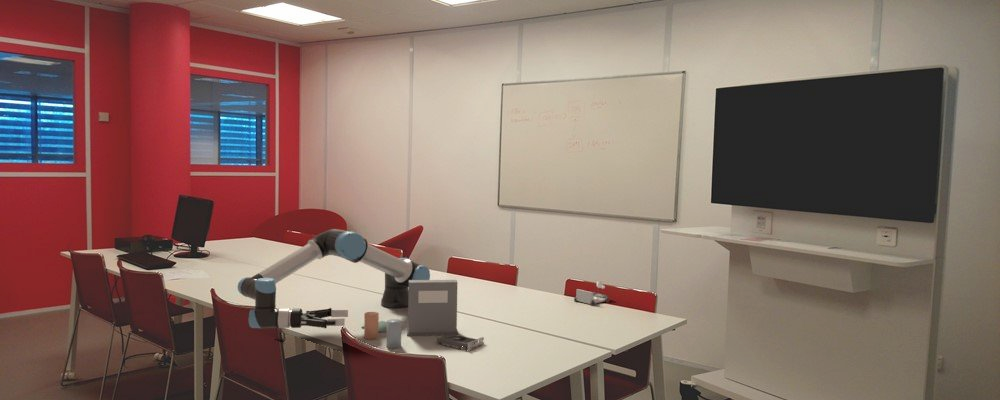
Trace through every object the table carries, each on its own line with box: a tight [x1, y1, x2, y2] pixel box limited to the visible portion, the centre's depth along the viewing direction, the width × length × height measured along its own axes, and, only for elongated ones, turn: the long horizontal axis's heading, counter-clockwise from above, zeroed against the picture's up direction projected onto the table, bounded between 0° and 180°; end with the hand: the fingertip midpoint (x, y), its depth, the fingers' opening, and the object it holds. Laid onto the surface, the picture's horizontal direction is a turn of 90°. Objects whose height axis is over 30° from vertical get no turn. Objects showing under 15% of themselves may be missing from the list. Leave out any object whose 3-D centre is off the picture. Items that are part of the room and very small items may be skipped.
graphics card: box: [436, 334, 485, 352], centre depth 240 cm, size 17×4×12 cm
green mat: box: [361, 320, 403, 334], centre depth 261 cm, size 12×12×1 cm
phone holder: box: [573, 281, 610, 307], centre depth 319 cm, size 18×10×12 cm
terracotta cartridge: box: [363, 311, 380, 341], centre depth 246 cm, size 6×6×10 cm
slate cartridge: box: [385, 318, 402, 350], centre depth 235 cm, size 6×6×10 cm
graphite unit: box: [406, 279, 459, 337], centre depth 254 cm, size 7×21×22 cm, turn 99°
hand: (346, 317), depth 244 cm, fingers open, 13 cm apart
